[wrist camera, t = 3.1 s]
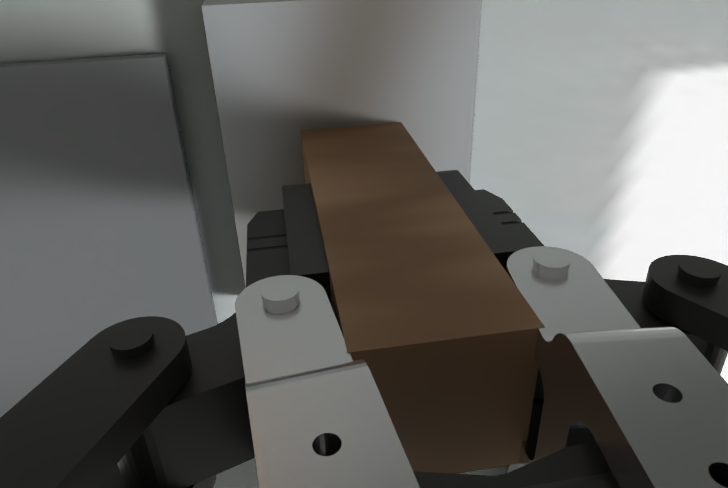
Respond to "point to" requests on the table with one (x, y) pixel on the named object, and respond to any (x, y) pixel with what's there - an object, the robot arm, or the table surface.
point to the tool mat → (91, 211)
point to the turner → (384, 203)
